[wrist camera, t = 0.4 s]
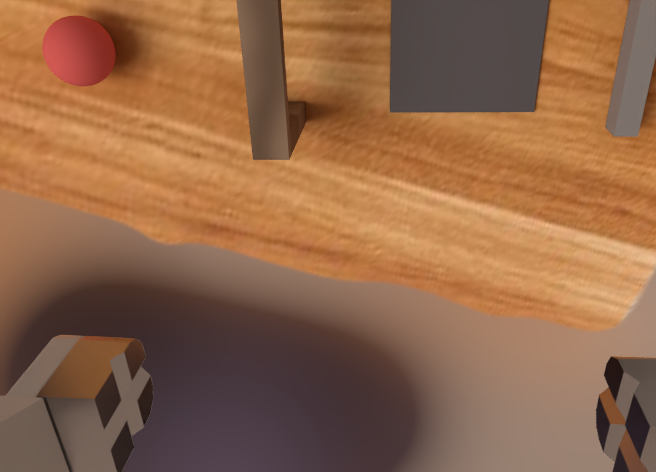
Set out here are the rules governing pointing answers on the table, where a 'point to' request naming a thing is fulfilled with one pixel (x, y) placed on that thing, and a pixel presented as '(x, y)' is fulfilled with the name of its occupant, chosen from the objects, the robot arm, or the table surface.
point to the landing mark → (466, 55)
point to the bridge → (268, 81)
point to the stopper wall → (633, 69)
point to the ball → (79, 50)
